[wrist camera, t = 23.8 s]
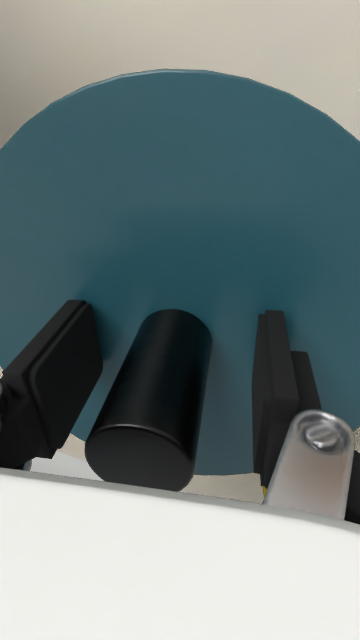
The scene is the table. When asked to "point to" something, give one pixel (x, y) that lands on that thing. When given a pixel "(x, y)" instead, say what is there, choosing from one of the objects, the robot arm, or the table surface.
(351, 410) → the lid
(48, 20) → the table surface
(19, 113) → the table surface
